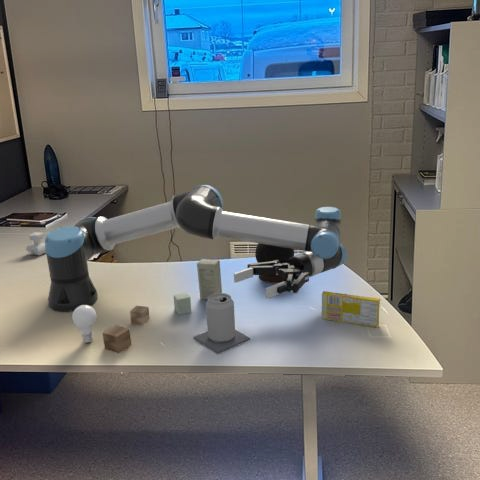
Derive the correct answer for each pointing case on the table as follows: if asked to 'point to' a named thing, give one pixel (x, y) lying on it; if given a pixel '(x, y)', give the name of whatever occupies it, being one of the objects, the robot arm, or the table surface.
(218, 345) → the coaster
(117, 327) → the walnut block
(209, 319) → the can
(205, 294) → the skincare box
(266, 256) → the black ball on stand
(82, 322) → the lightbulb
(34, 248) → the stamp
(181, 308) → the sage block
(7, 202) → the table surface
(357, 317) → the candy box
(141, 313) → the oak block
